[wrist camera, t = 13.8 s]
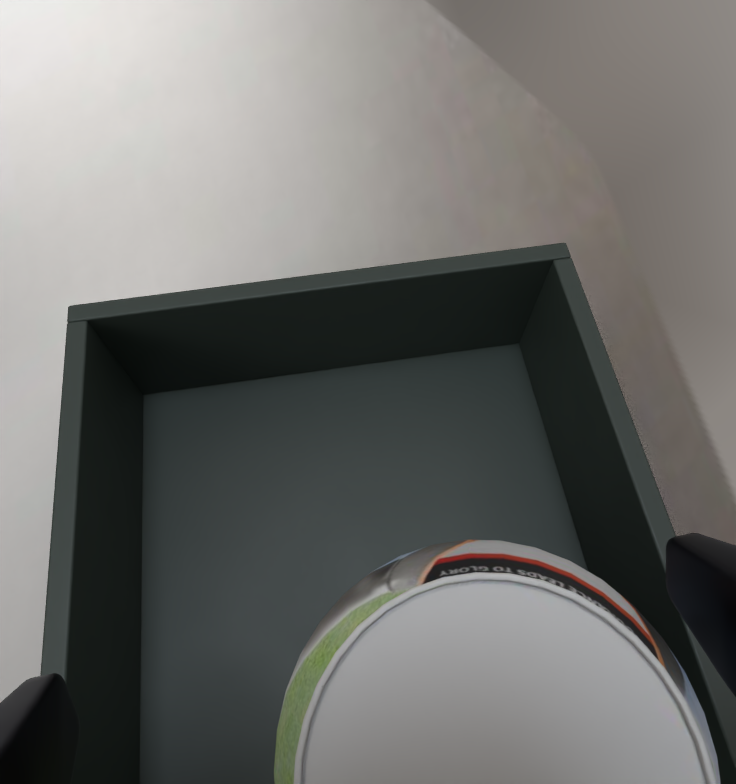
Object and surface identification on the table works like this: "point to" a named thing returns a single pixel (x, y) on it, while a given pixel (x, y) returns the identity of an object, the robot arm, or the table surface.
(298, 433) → the open square box
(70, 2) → the table surface
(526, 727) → the beverage can
